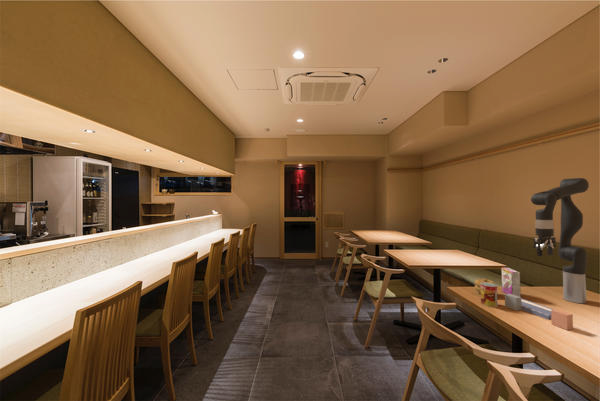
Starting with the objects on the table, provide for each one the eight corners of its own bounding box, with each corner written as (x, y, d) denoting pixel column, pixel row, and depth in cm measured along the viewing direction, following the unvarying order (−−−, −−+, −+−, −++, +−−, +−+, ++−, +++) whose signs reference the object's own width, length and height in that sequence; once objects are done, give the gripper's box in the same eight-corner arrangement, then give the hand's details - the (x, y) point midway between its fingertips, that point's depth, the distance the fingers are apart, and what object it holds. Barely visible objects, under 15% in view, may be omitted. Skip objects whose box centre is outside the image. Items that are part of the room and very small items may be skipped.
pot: (477, 295, 159) (477, 280, 159) (472, 289, 170) (472, 275, 170) (499, 298, 155) (499, 282, 155) (493, 291, 165) (492, 277, 165)
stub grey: (510, 305, 144) (509, 293, 144) (521, 309, 138) (521, 297, 138) (505, 306, 143) (504, 294, 143) (516, 310, 137) (516, 298, 137)
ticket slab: (521, 301, 149) (521, 298, 149) (564, 316, 129) (564, 312, 129) (506, 304, 146) (506, 300, 146) (548, 319, 126) (548, 315, 126)
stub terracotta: (557, 322, 123) (556, 309, 123) (573, 328, 117) (572, 314, 117) (551, 324, 122) (551, 310, 122) (567, 330, 116) (566, 315, 116)
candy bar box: (501, 291, 166) (500, 267, 166) (509, 291, 165) (509, 267, 165) (512, 297, 155) (511, 272, 155) (521, 298, 154) (520, 272, 154)
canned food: (480, 300, 152) (479, 281, 152) (496, 303, 148) (495, 283, 148) (481, 305, 145) (481, 285, 145) (498, 308, 141) (498, 287, 141)
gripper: (545, 226, 146) (545, 253, 146) (527, 227, 142) (528, 255, 142) (561, 227, 139) (562, 256, 139) (543, 228, 135) (544, 257, 135)
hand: (545, 255), depth 140 cm, fingers open, 8 cm apart
